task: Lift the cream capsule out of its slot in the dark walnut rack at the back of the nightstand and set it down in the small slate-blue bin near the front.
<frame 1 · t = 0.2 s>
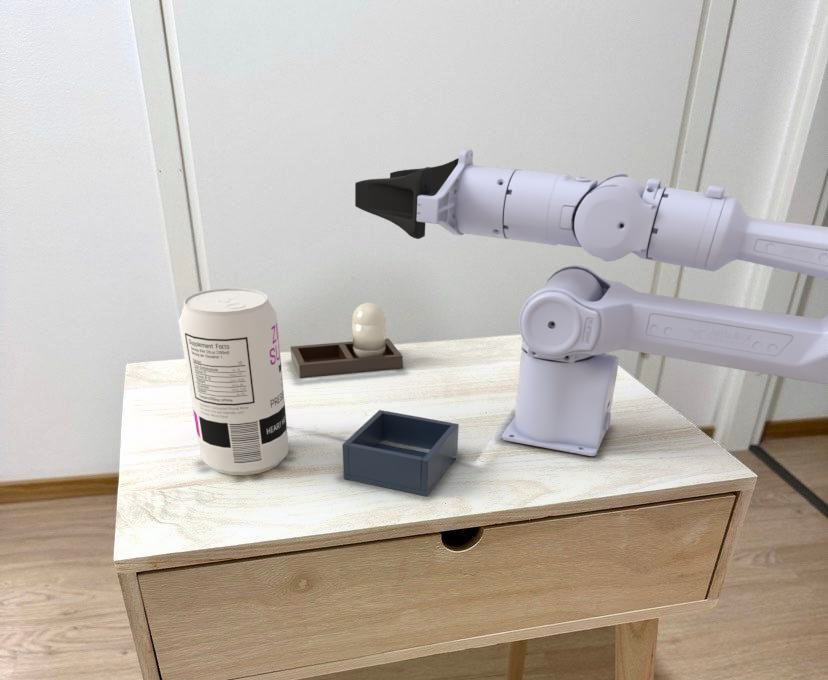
hand: (374, 188, 72), 22 cm above the table, tool horizontal, fingers open, 7 cm apart
bin: (401, 467, 71), on the table
rack: (346, 367, 92), on the table
supplement can: (246, 459, 72), on the table
cream capsule: (369, 361, 92), point 1 cm above the table, touching rack
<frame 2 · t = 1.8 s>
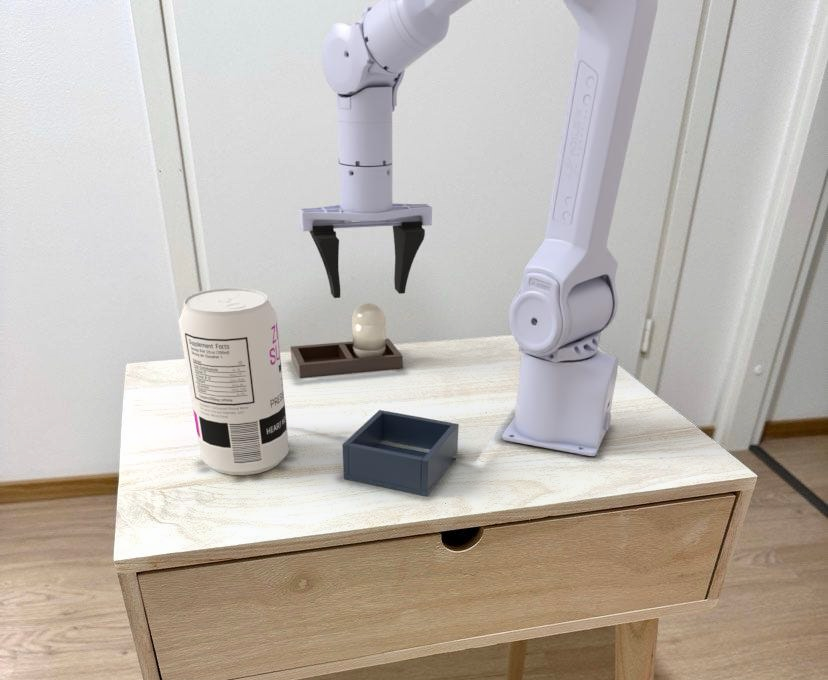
hand: (368, 293, 88), 9 cm above the table, tool pointing down, fingers open, 7 cm apart
nothing on the table moved.
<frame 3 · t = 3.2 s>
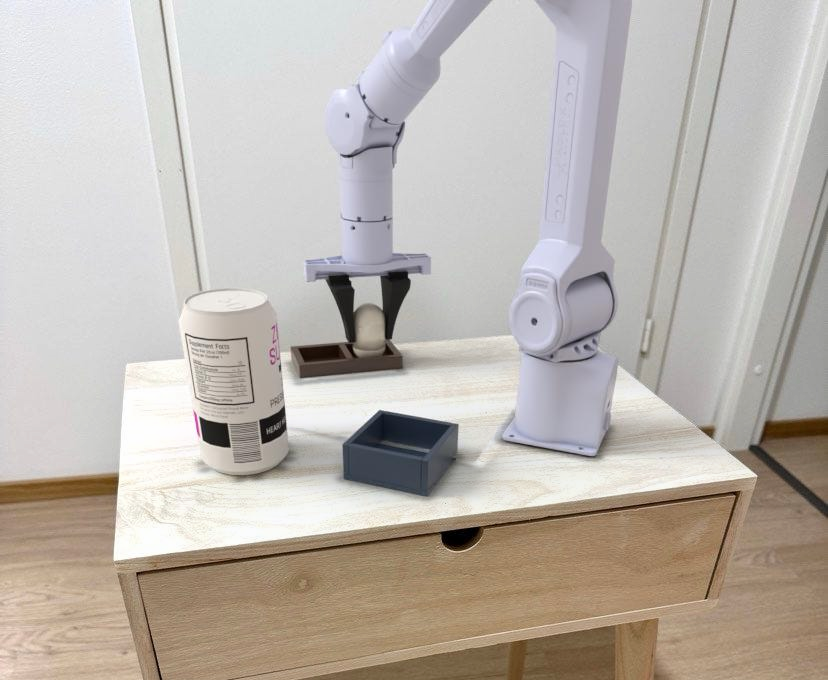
hand: (369, 338, 91), 3 cm above the table, tool pointing down, fingers closed on cream capsule, 4 cm apart
cream capsule: (369, 361, 92), point 1 cm above the table, touching gripper, rack
everything else where it was.
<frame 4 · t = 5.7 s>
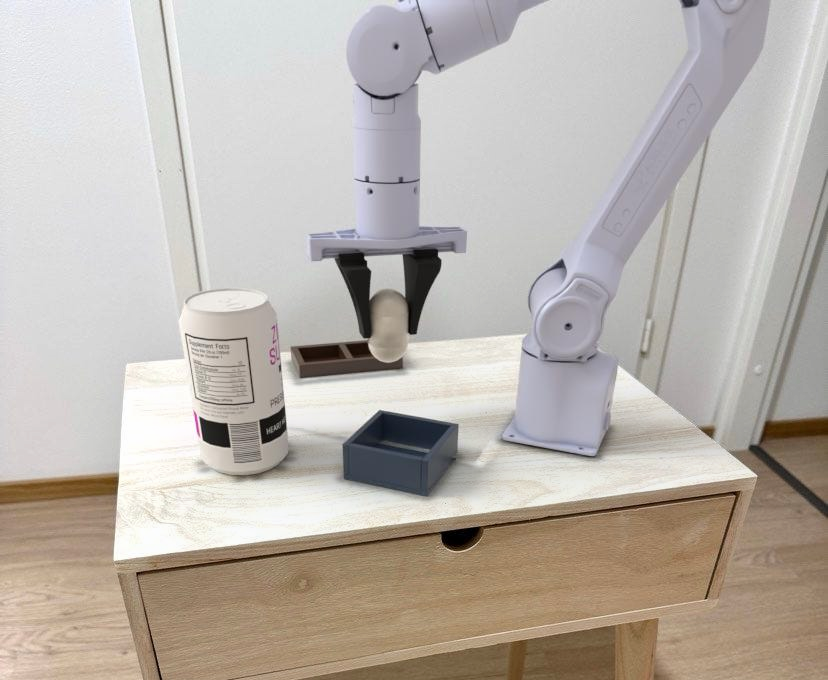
hand: (388, 333, 73), 10 cm above the table, tool pointing down, fingers closed on cream capsule, 4 cm apart
cream capsule: (388, 361, 75), point 7 cm above the table, touching gripper
everything else where it was.
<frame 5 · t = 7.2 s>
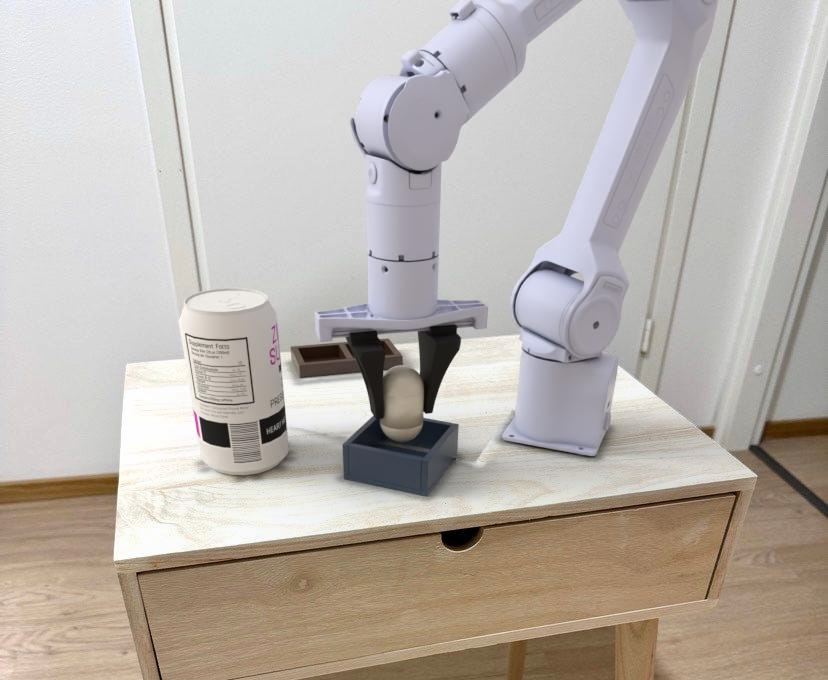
hand: (402, 411, 68), 6 cm above the table, tool pointing down, fingers closed on cream capsule, 4 cm apart
cream capsule: (401, 439, 69), point 3 cm above the table, touching gripper
everything else where it was.
when the fingers open (3 cm above the table, at t = 8.7 s): cream capsule stays where it is, resting on bin.
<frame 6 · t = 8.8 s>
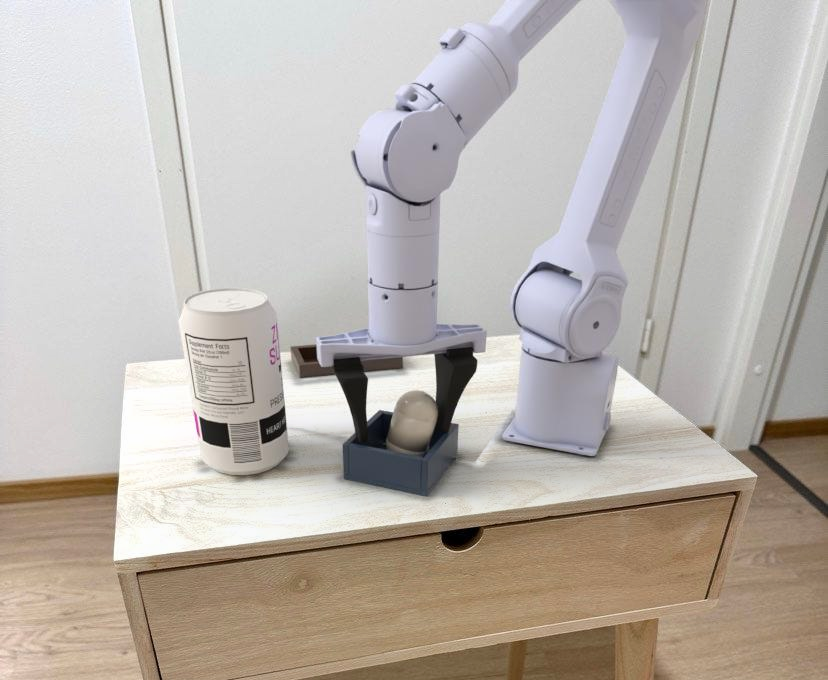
hand: (402, 433, 69), 4 cm above the table, tool pointing down, fingers open, 7 cm apart
cream capsule: (401, 462, 71), point 1 cm above the table, tilted 16°, touching bin
everything else where it was.
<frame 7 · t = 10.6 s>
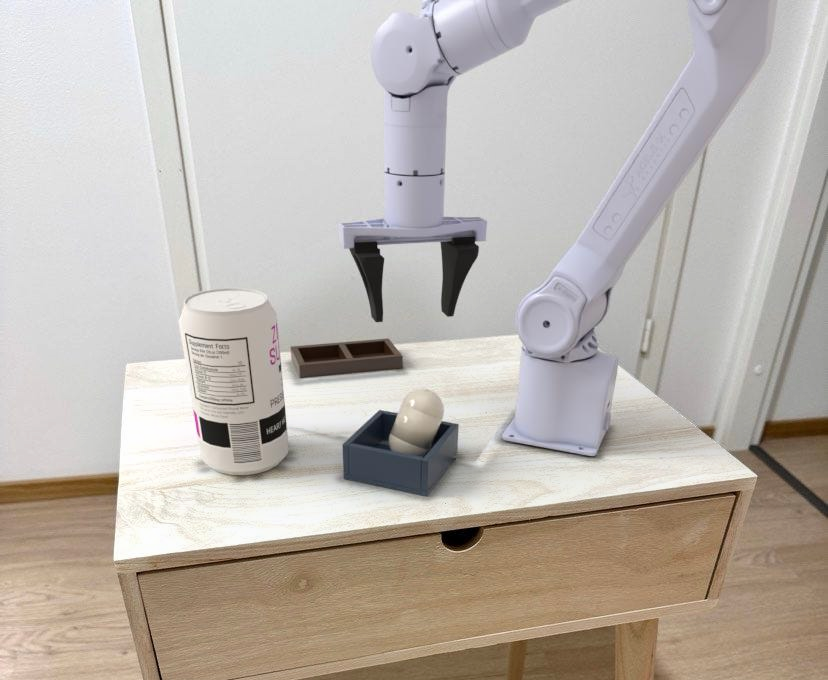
hand: (412, 316, 79), 9 cm above the table, tool pointing down, fingers open, 7 cm apart
cream capsule: (401, 460, 71), point 1 cm above the table, tilted 28°, touching bin
everything else where it was.
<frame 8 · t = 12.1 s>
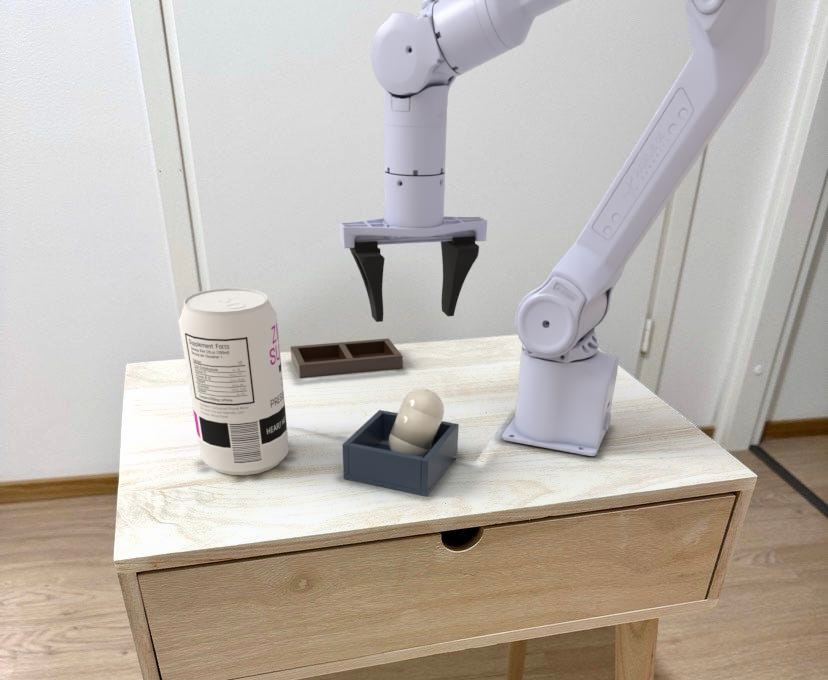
hand: (413, 316, 79), 9 cm above the table, tool pointing down, fingers open, 7 cm apart
nothing on the table moved.
at the end: cream capsule 0.0 cm off-centre in the bin, point 0.7 cm above the bin's base; cream capsule touching bin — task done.
